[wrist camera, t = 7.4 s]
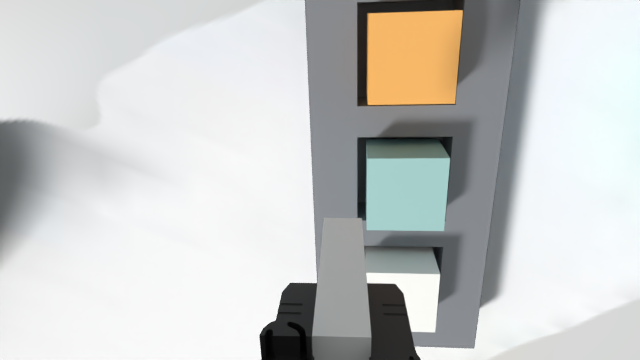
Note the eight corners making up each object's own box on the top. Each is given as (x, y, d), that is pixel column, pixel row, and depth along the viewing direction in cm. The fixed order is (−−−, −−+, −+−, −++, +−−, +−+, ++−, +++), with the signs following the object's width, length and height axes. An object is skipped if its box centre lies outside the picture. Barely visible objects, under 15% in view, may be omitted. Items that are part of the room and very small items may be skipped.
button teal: (365, 203, 30) (366, 230, 27) (366, 139, 29) (367, 158, 25) (433, 203, 30) (443, 231, 26) (438, 138, 28) (450, 158, 24)
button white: (364, 294, 33) (365, 330, 30) (365, 242, 32) (366, 272, 28) (426, 296, 33) (435, 332, 29) (430, 242, 31) (440, 274, 27)
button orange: (366, 92, 27) (367, 104, 24) (367, 13, 26) (368, 13, 22) (441, 90, 27) (454, 103, 23) (447, 10, 25) (462, 10, 21)
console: (323, 313, 37) (319, 342, 34) (309, -47, 26) (302, -55, 23) (463, 317, 36) (474, 348, 33) (507, -57, 25) (529, -67, 22)
